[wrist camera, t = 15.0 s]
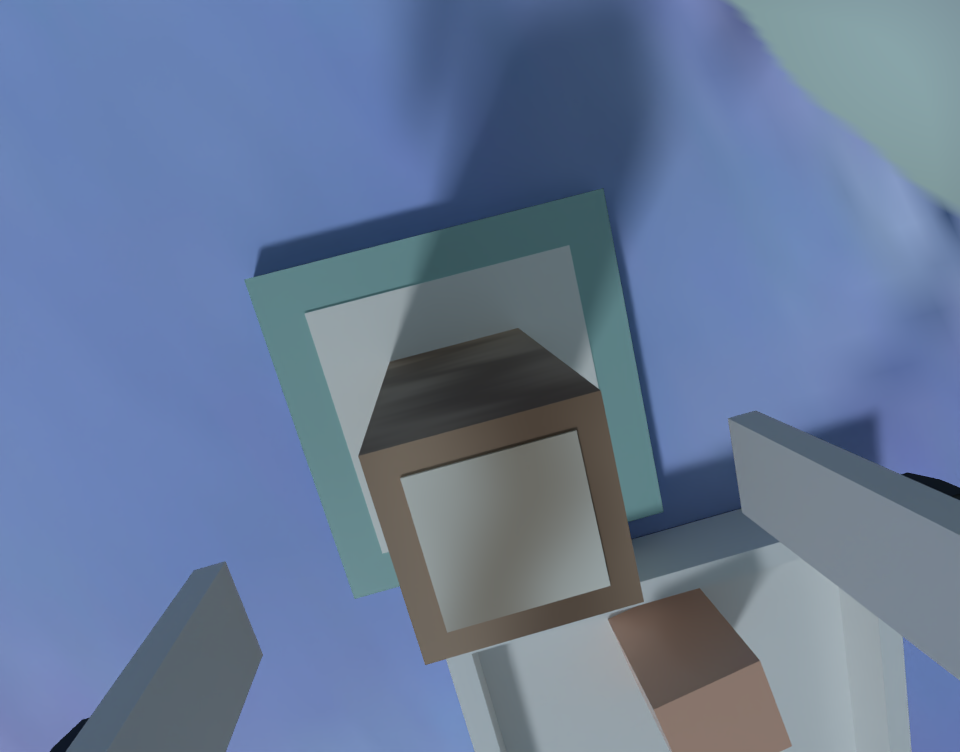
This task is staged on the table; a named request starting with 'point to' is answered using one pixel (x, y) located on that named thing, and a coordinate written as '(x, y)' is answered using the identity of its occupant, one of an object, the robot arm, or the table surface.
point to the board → (448, 343)
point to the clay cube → (699, 677)
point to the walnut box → (497, 494)
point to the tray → (753, 615)
